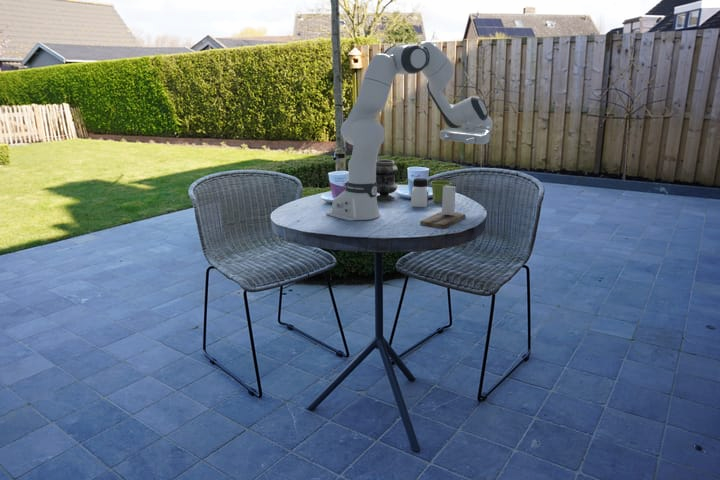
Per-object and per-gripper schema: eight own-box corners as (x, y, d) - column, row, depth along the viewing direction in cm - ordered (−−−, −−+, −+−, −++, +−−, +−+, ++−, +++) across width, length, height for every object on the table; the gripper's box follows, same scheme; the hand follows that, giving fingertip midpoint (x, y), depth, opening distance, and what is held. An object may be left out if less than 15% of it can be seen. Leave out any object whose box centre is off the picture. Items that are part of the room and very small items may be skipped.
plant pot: (450, 204, 223) (451, 184, 221) (429, 203, 225) (429, 184, 222) (450, 199, 232) (451, 181, 229) (430, 198, 234) (431, 180, 231)
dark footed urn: (397, 201, 228) (397, 162, 222) (370, 201, 229) (370, 162, 223) (397, 196, 239) (397, 158, 234) (372, 196, 240) (372, 158, 235)
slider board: (420, 224, 190) (420, 220, 190) (442, 214, 205) (442, 210, 205) (444, 228, 185) (444, 224, 184) (465, 217, 200) (465, 213, 199)
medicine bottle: (427, 207, 217) (428, 180, 214) (411, 206, 219) (411, 179, 215) (428, 203, 224) (428, 177, 221) (412, 203, 225) (412, 176, 222)
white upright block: (441, 213, 197) (442, 186, 194) (445, 212, 200) (446, 185, 196) (451, 215, 195) (452, 187, 192) (454, 213, 197) (455, 186, 194)
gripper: (448, 122, 214) (432, 130, 204) (493, 127, 202) (479, 135, 192) (448, 137, 216) (432, 145, 207) (492, 142, 205) (478, 151, 195)
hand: (455, 140), depth 199 cm, fingers open, 8 cm apart
